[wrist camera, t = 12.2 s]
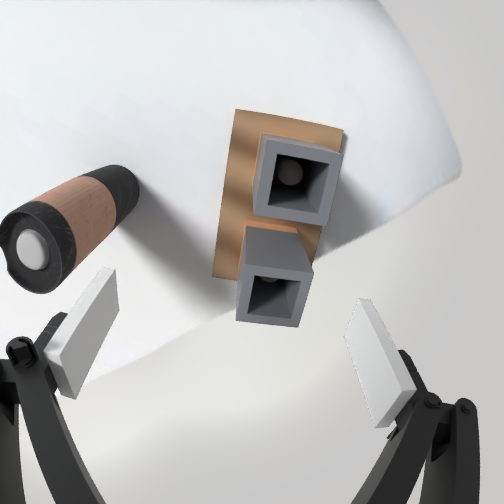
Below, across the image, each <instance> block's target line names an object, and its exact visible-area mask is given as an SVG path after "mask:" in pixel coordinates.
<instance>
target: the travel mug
mask: <svg viewBox="0 0 504 504" xmlns="http://www.w3.org/2000/svg"><path fill="white" fill-rule="evenodd" d="M138 197H139V186H138V183H137V180H136V178H135V176H134V175H133V174H132V173H131V172H130V171H129V170H128V169H127V168H125V167H123V166H120V165H109V166H105V167H102V168H99V169H97V170H94V171H91V172H89V173H86V174H83V175H81V176H78V177H76V178H73V179H71V180H69V181H67V182H65V183H63V184H61V185H59V186H57V187H55V188H53V189H51V190H50V191H48V192H46V193H44V194H42V195H40V196H38V197H36V198H35V199H33V200H31V201H29V202H27V203H26V204H24V205H22V206H20V207H18V208H17V209H15V210H13V211H12V212H10V213H9V214H8V215H7V216H6V217H5V218H4V219H3V220H2V222H1V224H0V247H1V248H2V250H3V252H4V255H5V258H6V261H7V271H8V273H9V274H10V276H11V277H12V278H13V279H14V281H16V282H17V283H18V284H19V285H20V286H21V287H23V288H24V289H26V290H28V291H30V292H33V293H36V294H46V293H49V292H51V291H53V290H54V289H56V288H57V287H58V286H59V285H60V284H61V283H62V282H63V281H64V280H65V278H66V277H67V276H68V275H69V274H70V273H71V272H72V271H73V270H74V269H75V268H76V267H77V266H78V265H79V264H80V263H81V262H82V261H83V260H84V259H85V258H86V257H87V256H88V255H89V254H90V253H91V252H92V251H93V250H94V249H95V248H96V247H97V246H98V245H99V244H100V243H101V242H102V241H103V240H104V239H105V238H106V237H107V236H108V235H109V234H110V233H111V232H112V231H113V230H114V229H115V228H116V227H117V225H118V224H119V223H120V222H121V221H122V220H123V219H124V218H125V217H126V216H127V215H128V214H129V213H130V212H131V210H132V209H133V208H134V207H135V205H136V203H137V201H138Z"/></svg>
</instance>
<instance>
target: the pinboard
mask: <svg viewBox="0 0 504 504" xmlns="http://www.w3.org/2000/svg"><path fill="white" fill-rule="evenodd" d="M343 131H344V130H342V129H338V128H334V127H330V126H326V125H321V124H317V123H312V122H308V121H303V120H298V119H293V118H288V117H282V116H277V115H271V114H265V113H259V112H253V111H246V110H239V109H235V116H234V122H233V128H232V134H231V141H230V147H229V154H228V161H227V168H226V174H225V181H224V188H223V196H222V203H221V210H220V218H219V226H218V233H217V241H216V249H215V258H214V266H213V274H212V277H217V278H224V279H231V280H238V267H239V260H240V254H241V247H242V241H243V235H244V229H245V223H246V220H248V221H255V222H261V223H268V224H275V225H281V226H288V227H294V228H296V229H297V232H298V234H299V236H300V239H301V241H302V244H303V246H304V249H305V251H306V254H307V257H308V259H309V262H310V264H311V267H312V263H313V260H314V256H315V252H316V248H317V244H318V240H319V237H320V233H321V229H322V226H321V225H315V224H309V223H303V222H296V221H290V220H284V219H278V218H271V217H265V216H258V215H254V210H253V193H252V181H253V175H254V169H255V163H256V157H257V151H258V145H259V139H260V134H261V132H263V133H269V134H275V135H280V136H286V137H291V138H296V139H301V140H306V141H311V142H315V143H317V144H320V145H322V146H325V147H327V148H329V149H331V150H334V151H336V152H338V153H339V151H340V146H341V141H342V136H343ZM301 163H302V158H298V157H293V156H288V155H282V154H277V157H276V162H275V168H274V173H273V179H274V180H280V181H282V182H283V183H284V184H286V185H295V184H297V183H298V182H299V181H300V180H301V179H302V176H303V170H302V168H301ZM260 277H261V279H262V280H264V281H266V282H274V281H276V280H278V279H279V278H272V277H264V276H260Z"/></svg>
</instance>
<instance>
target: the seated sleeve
mask: <svg viewBox="0 0 504 504" xmlns="http://www.w3.org/2000/svg"><path fill="white" fill-rule="evenodd" d="M277 154H282V155H288V156H293V157H298V158H302V163H301V168H302V170H303V176H302V179H301V180H300V181H299V182H298V183H297V184H295V185H286V184H284V183H283V182H282V181H280V180H274V179H273V173H274V168H275V162H276V157H277ZM342 159H343V154H340V153H338V152H336V151H334V150H331V149H329V148H327V147H325V146H322V145H320V144H317V143H315V142H311V141H306V140H301V139H296V138H291V137H286V136H280V135H275V134H269V133H263V132H261V134H260V139H259V145H258V151H257V157H256V163H255V169H254V175H253V181H252V193H253V210H254V215H258V216H265V217H271V218H278V219H284V220H290V221H296V222H303V223H309V224H315V225H321V226H327V223H328V219H329V215H330V211H331V207H332V203H333V199H334V194H335V190H336V186H337V181H338V177H339V173H340V168H341V164H342Z"/></svg>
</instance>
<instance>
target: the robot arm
mask: <svg viewBox="0 0 504 504" xmlns="http://www.w3.org/2000/svg"><path fill="white" fill-rule="evenodd" d="M118 312H119V304H118V295H117V284H116V272H115V269H112V268H106V267H102V268H101V270H100V271H99V272H98V273H97V275H96V276H95V277H94V279H93V280H92V281H91V283H90V284H89V285H88V287H87V288H86V289H85V291H84V292H83V294H82V295H81V296H80V298H79V299H78V300H77V302H76V303H75V305H74V306H73V307H72V309H71V310H70V312H69V313H68V314H67V313H63V312H60V313H58V314H57V315H55V316H54V317H52V319H51V320H50V321H49V323H48V324H47V326H46V327H45V328H44V330H43V332H42V333H41V334H40V336H39V337H38V338H37V340H36V341H35V343H34V344H33V342H32V340H31V339H29V338H28V337H24V336H22V337H16V338H14V339H12V340H11V341H10V342H9V343H8V345H7V346H6V353H7V355H8V357H9V359H10V360H9V359H0V504H26V502H25V496H24V489H23V482H22V473H21V462H20V448H19V423H18V422H19V420H18V418H19V404H21V408H22V412H23V415H24V419H25V423H26V426H27V429H28V433H29V436H30V439H31V442H32V445H33V448H34V451H35V454H36V457H37V460H38V463H39V465H40V468H41V470H42V473H43V475H44V478H45V480H46V483H47V485H48V488H49V490H50V492H51V494H52V497H53V499H54V501H55V503H56V504H106V503H105V502H104V500H103V498H102V496H101V494H100V493H99V491H98V489H97V487H96V486H95V484H94V482H93V480H92V478H91V477H90V474H89V473H88V471H87V469H86V467H85V465H84V463H83V461H82V458H81V457H80V454H79V452H78V450H77V448H76V446H75V444H74V442H73V439H72V437H71V434H70V432H69V430H68V427H67V425H66V422H65V420H64V417H63V415H62V412H61V409H60V407H59V404H58V401H57V399H56V396H55V394H54V393H55V391H56V389H57V387H58V389H59V391H60V394H61V395H63V396H66V397H69V398H73V399H76V398H77V396H78V394H79V391H80V389H81V387H82V385H83V383H84V380H85V378H86V376H87V374H88V372H89V370H90V368H91V365H92V363H93V361H94V359H95V357H96V355H97V353H98V351H99V349H100V347H101V345H102V343H103V341H104V339H105V337H106V335H107V333H108V331H109V329H110V327H111V325H112V323H113V321H114V320H115V318H116V316H117V314H118ZM344 339H345V341H346V344H347V347H348V350H349V353H350V355H351V358H352V361H353V364H354V367H355V370H356V372H357V376H358V379H359V381H360V384H361V387H362V390H363V393H364V396H365V399H366V403H367V406H368V409H369V412H370V415H371V418H372V421H373V424H374V427H375V428H382V427H389V426H390V424H391V423H392V422H393V421H394V419H395V421H396V424H397V426H396V427H395V429H394V430H393V431H392V432H391V433H390V434H389V436H388V437H387V439H389V440H388V442H387V444H386V446H385V447H384V449H383V451H382V453H381V455H380V457H379V459H378V460H377V462H376V464H375V466H374V467H373V469H372V471H371V472H370V474H369V476H368V478H367V479H366V481H365V483H364V484H363V486H362V487H361V489H360V490H359V492H358V493H357V495H356V497H355V498H354V500H353V501H352V503H351V504H406V503H407V501H408V499H409V497H410V495H411V492H412V490H413V488H414V485H415V483H416V481H417V479H418V477H419V474H420V472H421V469H422V467H423V464H424V462H425V459H426V463H425V470H424V478H423V484H422V491H421V498H420V502H419V504H479V490H480V450H479V449H480V448H479V430H478V417H477V409H476V406H475V405H474V403H473V402H471V401H470V400H468V399H466V398H461V399H459V400H458V401H457V402H456V403H455V404H454V405H453V404H447V403H442V401H441V399H440V398H439V397H438V396H437V395H435V394H434V393H431V392H428V391H427V389H426V387H425V385H424V383H423V381H422V379H421V377H420V375H419V373H418V372H417V369H416V367H415V366H414V363H413V361H412V359H411V357H410V356H409V355H408V354H407V353H406V352H405V351H404V350H397V348H396V346H395V344H394V342H393V340H392V338H391V337H390V334H389V332H388V331H387V329H386V327H385V325H384V323H383V321H382V319H381V317H380V316H379V314H378V312H377V310H376V308H375V306H374V305H373V303H372V301H371V299H370V300H369V299H358V302H357V304H356V307H355V309H354V312H353V315H352V317H351V320H350V322H349V325H348V327H347V330H346V332H345V335H344Z"/></svg>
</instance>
